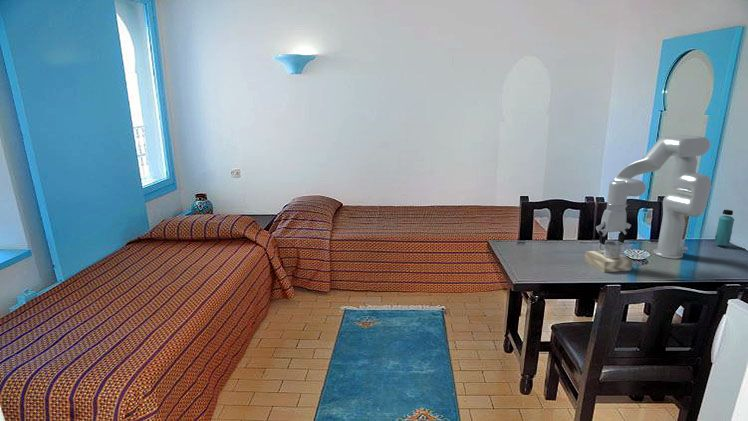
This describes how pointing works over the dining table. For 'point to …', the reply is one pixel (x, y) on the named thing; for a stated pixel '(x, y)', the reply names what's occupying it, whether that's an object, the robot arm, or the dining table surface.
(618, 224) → the robot arm
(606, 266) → the base block
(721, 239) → the beverage bottle
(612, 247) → the mug
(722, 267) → the dining table surface
